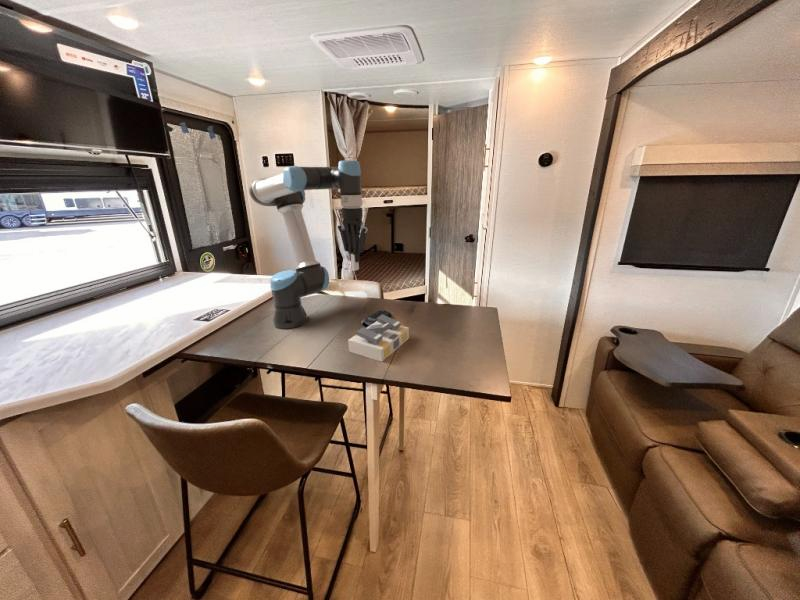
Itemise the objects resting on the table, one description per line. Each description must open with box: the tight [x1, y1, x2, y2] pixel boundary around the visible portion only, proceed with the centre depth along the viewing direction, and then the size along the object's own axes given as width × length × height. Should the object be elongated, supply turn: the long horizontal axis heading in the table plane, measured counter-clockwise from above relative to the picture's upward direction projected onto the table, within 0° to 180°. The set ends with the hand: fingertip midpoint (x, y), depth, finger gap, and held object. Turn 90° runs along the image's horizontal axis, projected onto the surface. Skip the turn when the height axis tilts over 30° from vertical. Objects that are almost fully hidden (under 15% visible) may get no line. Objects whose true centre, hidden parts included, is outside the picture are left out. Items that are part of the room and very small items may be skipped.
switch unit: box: [347, 321, 410, 363], centre depth 122 cm, size 15×20×6 cm
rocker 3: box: [377, 314, 402, 330], centre depth 126 cm, size 9×4×2 cm, turn 60°
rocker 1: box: [356, 326, 383, 344], centre depth 115 cm, size 9×4×2 cm, turn 60°
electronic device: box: [360, 309, 394, 328], centre depth 143 cm, size 9×6×15 cm
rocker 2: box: [368, 323, 391, 332], centre depth 121 cm, size 9×4×2 cm, turn 58°
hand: (355, 269), depth 121 cm, fingers closed
